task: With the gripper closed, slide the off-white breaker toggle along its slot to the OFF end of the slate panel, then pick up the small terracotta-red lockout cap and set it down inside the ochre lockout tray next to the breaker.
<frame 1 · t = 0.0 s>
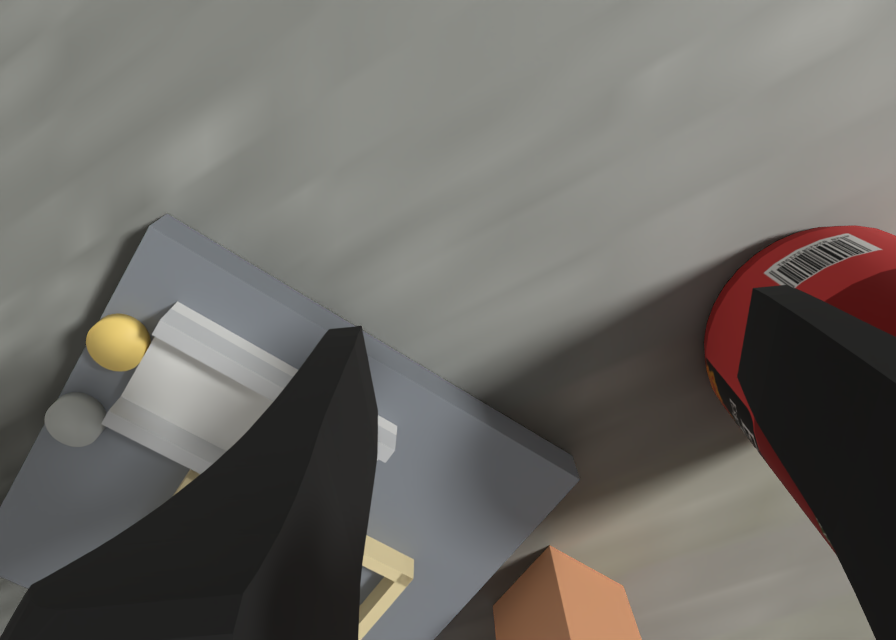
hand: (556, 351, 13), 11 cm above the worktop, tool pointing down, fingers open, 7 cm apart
canned food: (802, 323, 24), on the worktop
lockout cap: (557, 595, 29), on the worktop
panel: (277, 496, 27), on the worktop
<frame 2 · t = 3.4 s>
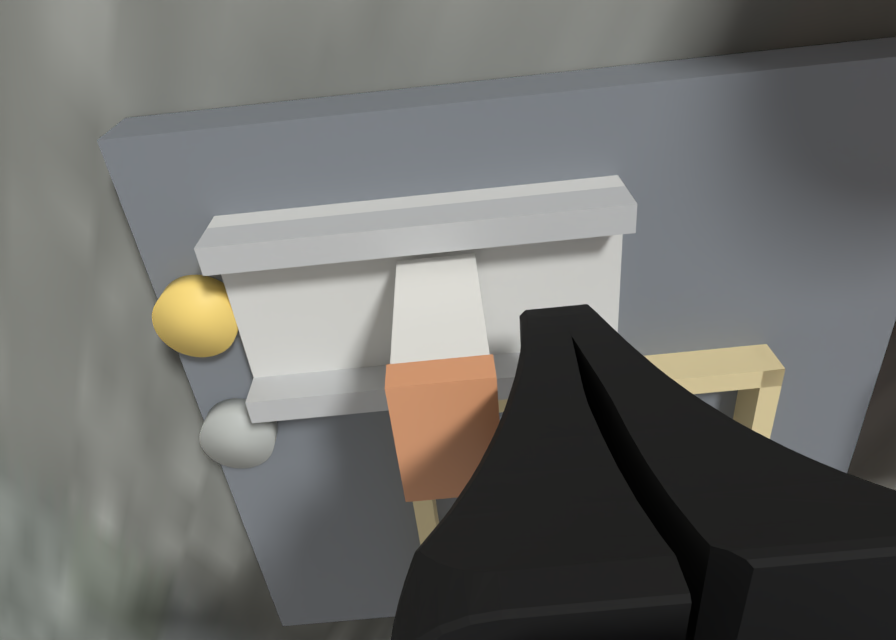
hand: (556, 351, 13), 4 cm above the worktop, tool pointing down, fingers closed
breaker toggle: (444, 365, 13), point 5 cm above the worktop, slide at -0.3 cm, touching gripper
panel: (532, 376, 19), on the worktop
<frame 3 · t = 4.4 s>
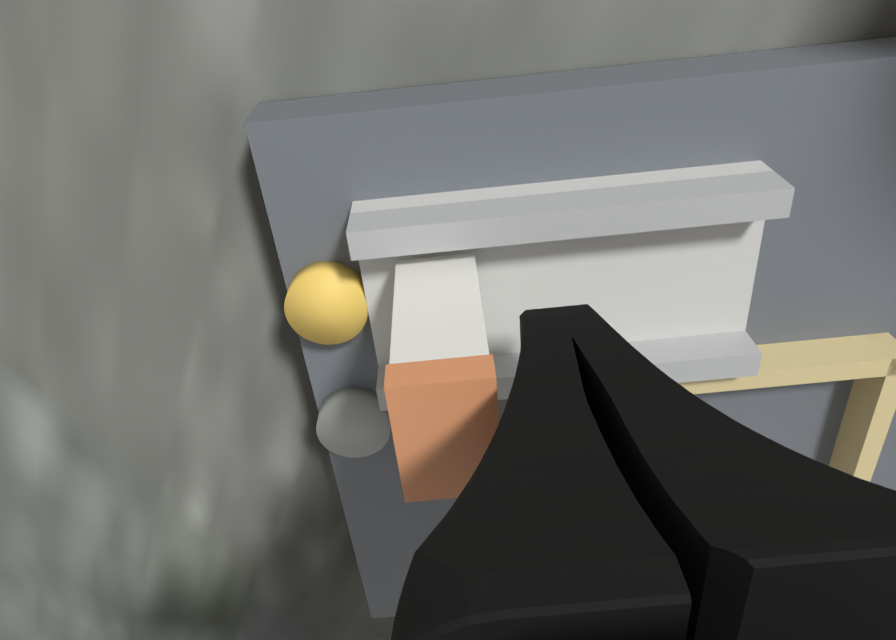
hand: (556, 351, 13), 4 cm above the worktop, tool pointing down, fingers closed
breaker toggle: (443, 365, 13), point 5 cm above the worktop, slide at 2.6 cm, touching gripper
panel: (638, 366, 18), on the worktop
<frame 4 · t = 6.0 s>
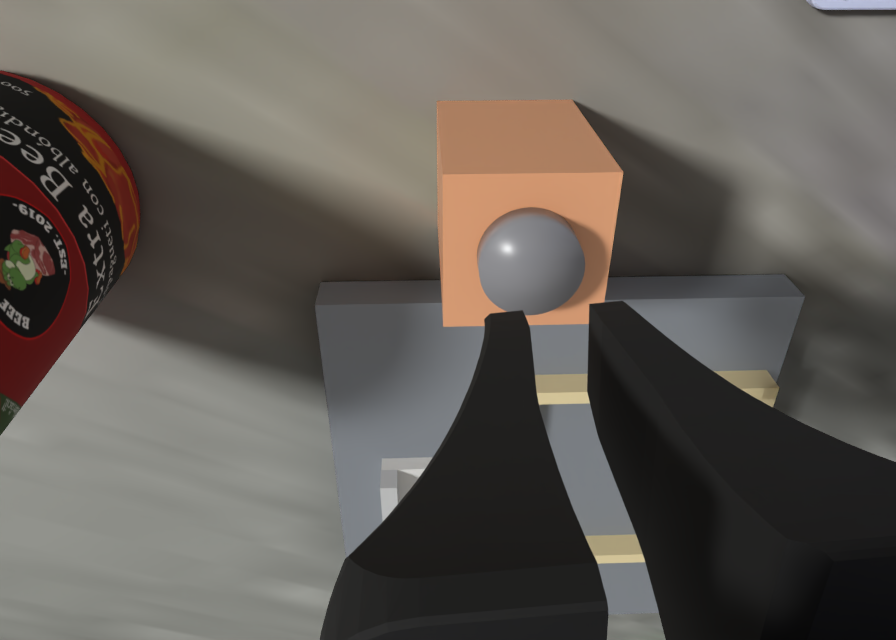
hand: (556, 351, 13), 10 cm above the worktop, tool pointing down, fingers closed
canned food: (18, 184, 21), on the worktop
lockout cap: (501, 165, 21), on the worktop
panel: (537, 458, 28), on the worktop
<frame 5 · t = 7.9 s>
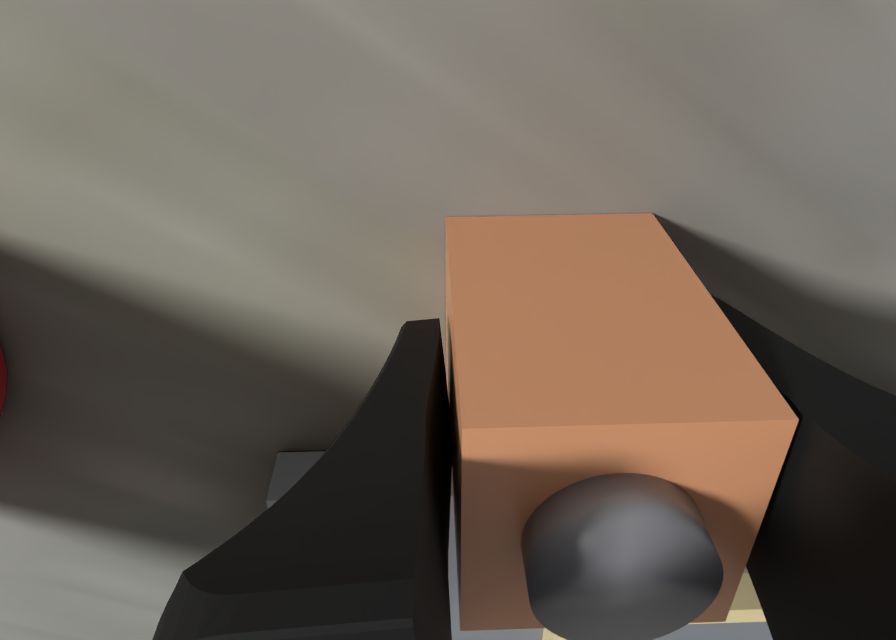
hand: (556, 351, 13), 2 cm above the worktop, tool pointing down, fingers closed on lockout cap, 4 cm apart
lockout cap: (542, 303, 14), on the worktop, touching gripper
when the fingers open (9 cm above the worktop, at t = 10.1 s): lockout cap drops 1 cm, resting on panel.
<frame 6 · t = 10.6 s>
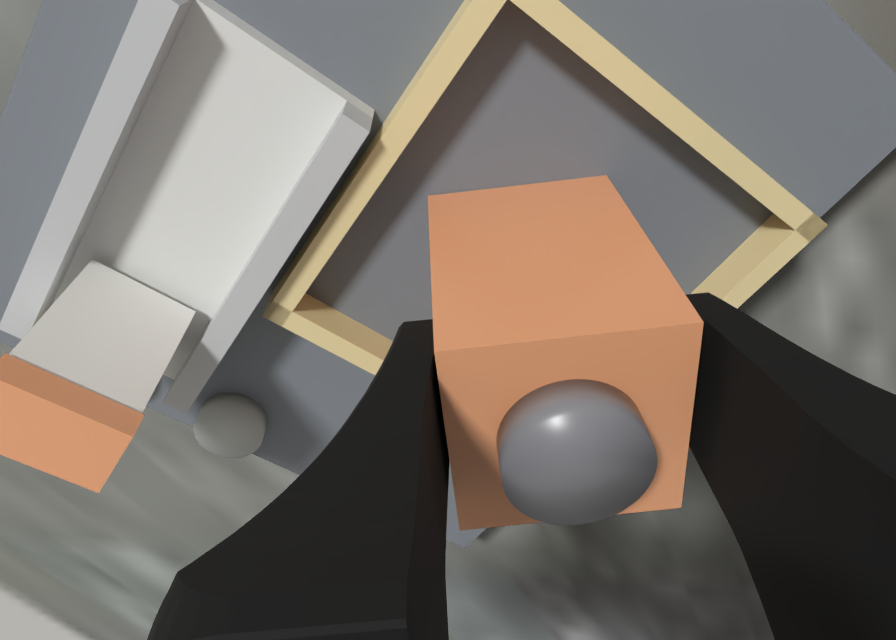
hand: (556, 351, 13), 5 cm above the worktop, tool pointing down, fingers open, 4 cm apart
lockout cap: (520, 264, 16), point 2 cm above the worktop, touching gripper, panel
breaker toggle: (94, 366, 14), point 5 cm above the worktop, slide at 2.6 cm
panel: (403, 191, 17), on the worktop
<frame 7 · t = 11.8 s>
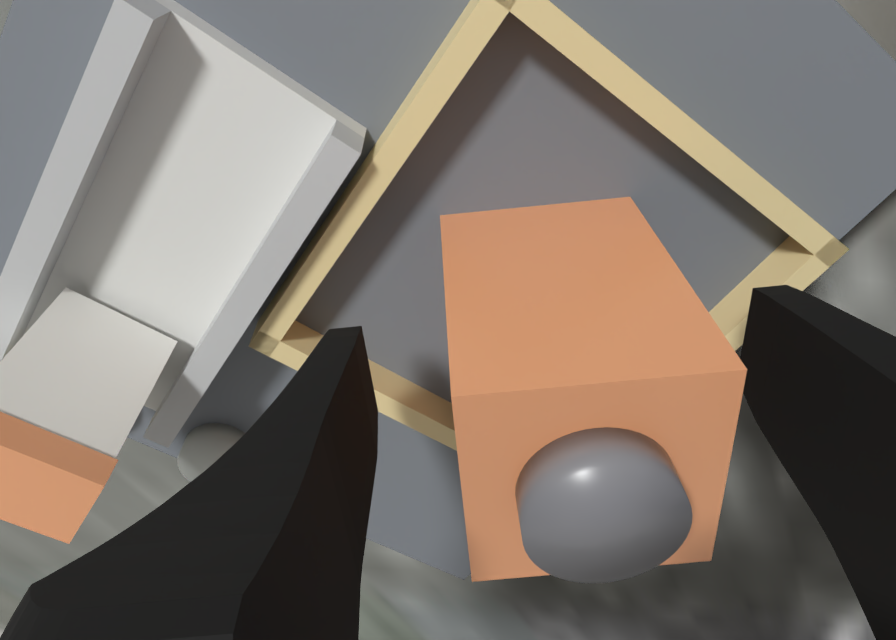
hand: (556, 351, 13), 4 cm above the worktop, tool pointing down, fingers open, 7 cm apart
lockout cap: (536, 288, 15), point 1 cm above the worktop, touching panel
breaker toggle: (66, 404, 13), point 4 cm above the worktop, slide at 2.6 cm
panel: (398, 212, 16), on the worktop
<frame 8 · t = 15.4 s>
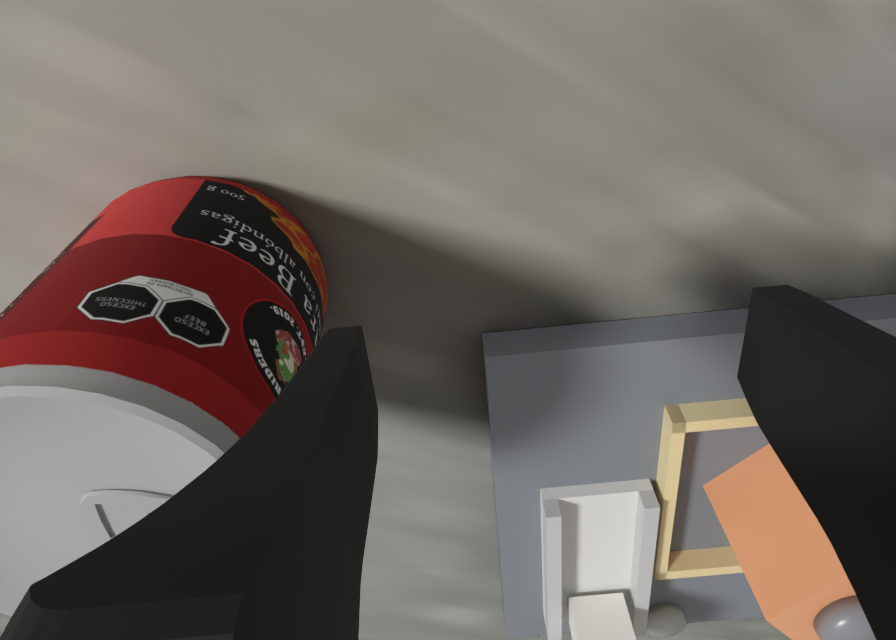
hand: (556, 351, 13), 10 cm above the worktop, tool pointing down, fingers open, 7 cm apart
canned food: (216, 271, 23), on the worktop
lockout cap: (771, 483, 28), point 1 cm above the worktop, touching panel
panel: (678, 477, 29), on the worktop
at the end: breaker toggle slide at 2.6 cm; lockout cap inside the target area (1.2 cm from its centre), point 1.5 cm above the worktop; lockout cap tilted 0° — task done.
